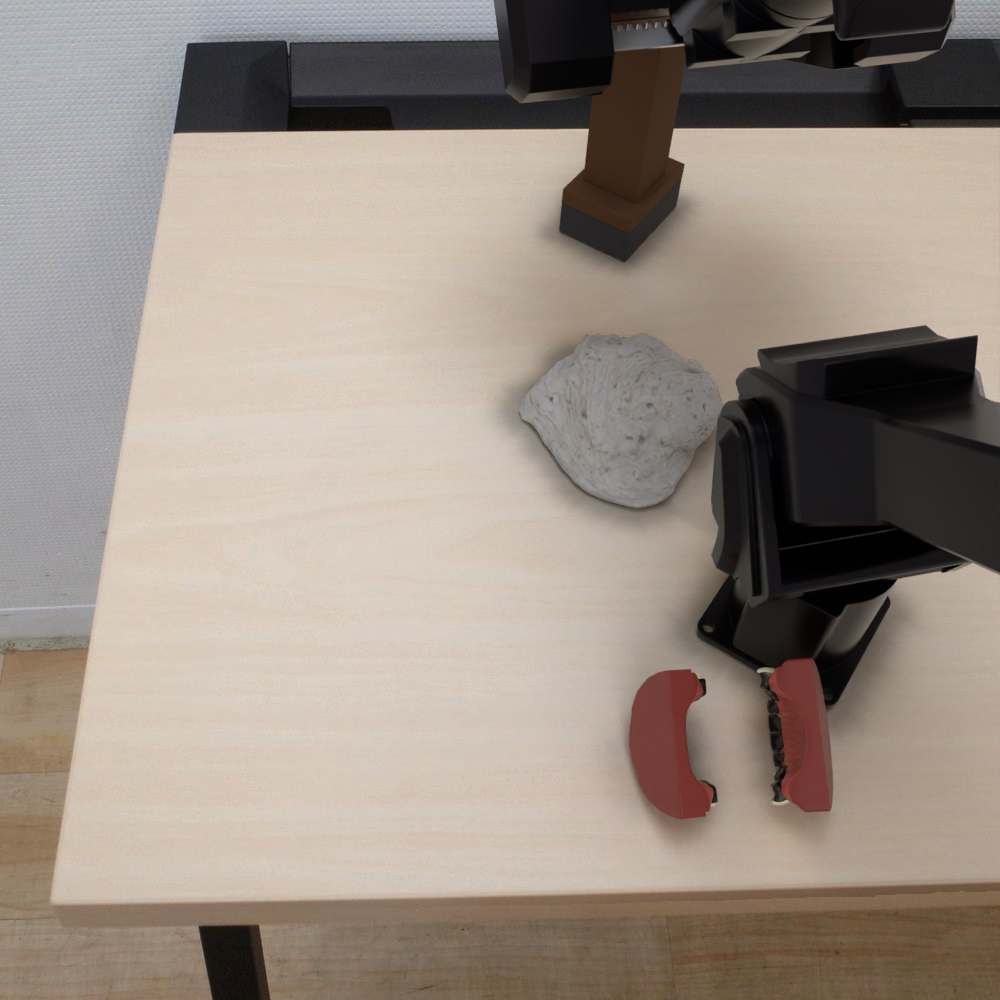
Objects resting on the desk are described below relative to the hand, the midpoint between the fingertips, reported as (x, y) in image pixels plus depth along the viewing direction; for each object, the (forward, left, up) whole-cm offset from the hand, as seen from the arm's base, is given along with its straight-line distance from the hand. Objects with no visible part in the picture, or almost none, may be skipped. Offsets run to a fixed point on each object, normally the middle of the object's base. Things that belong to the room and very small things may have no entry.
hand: (660, 49), depth 52 cm
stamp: (+1, +2, -12) cm, 12 cm away
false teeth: (-27, -16, -10) cm, 33 cm away
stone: (-12, -6, -12) cm, 18 cm away
